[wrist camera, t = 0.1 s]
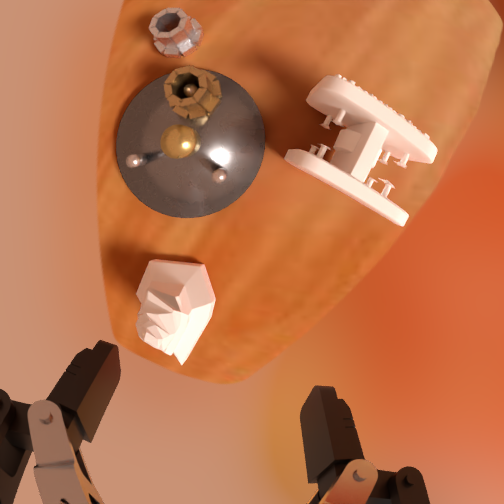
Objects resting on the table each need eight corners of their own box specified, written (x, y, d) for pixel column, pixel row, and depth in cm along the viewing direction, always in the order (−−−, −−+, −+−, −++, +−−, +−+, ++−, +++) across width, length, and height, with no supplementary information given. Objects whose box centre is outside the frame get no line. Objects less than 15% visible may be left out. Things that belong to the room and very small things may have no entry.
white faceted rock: (135, 308, 45) (83, 339, 31) (173, 237, 42) (119, 250, 28) (191, 353, 44) (153, 400, 30) (239, 286, 41) (209, 323, 27)
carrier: (138, 67, 30) (121, 57, 24) (280, 86, 31) (284, 76, 26) (112, 201, 37) (93, 209, 31) (245, 229, 38) (243, 242, 33)
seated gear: (169, 79, 29) (153, 68, 24) (217, 68, 29) (210, 53, 23) (176, 124, 31) (161, 120, 26) (225, 113, 31) (219, 106, 25)
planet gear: (165, 20, 27) (152, 3, 21) (208, 22, 27) (200, 3, 22) (152, 56, 29) (136, 43, 23) (195, 59, 30) (185, 44, 24)
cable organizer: (275, 157, 35) (284, 160, 24) (309, 89, 31) (333, 65, 20) (368, 208, 37) (408, 232, 26) (399, 145, 33) (447, 149, 22)
